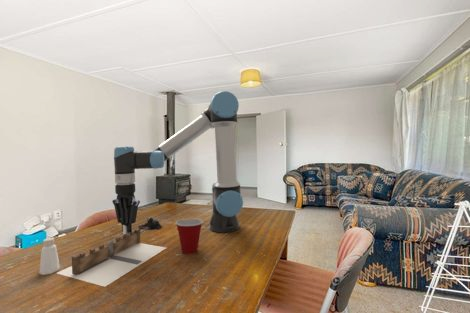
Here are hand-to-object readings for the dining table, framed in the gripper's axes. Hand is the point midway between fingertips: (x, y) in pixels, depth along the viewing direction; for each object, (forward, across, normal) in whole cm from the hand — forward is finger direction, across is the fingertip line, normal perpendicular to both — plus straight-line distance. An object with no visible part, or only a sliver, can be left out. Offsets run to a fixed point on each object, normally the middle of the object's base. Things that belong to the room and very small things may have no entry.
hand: (127, 239), depth 95 cm
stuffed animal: (+4, -7, +20) cm, 22 cm away
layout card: (+3, +6, -10) cm, 13 cm away
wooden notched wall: (+2, +2, -4) cm, 5 cm away
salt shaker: (+3, -8, -24) cm, 26 cm away
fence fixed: (+2, +2, -17) cm, 18 cm away
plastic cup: (+3, +27, +5) cm, 28 cm away
